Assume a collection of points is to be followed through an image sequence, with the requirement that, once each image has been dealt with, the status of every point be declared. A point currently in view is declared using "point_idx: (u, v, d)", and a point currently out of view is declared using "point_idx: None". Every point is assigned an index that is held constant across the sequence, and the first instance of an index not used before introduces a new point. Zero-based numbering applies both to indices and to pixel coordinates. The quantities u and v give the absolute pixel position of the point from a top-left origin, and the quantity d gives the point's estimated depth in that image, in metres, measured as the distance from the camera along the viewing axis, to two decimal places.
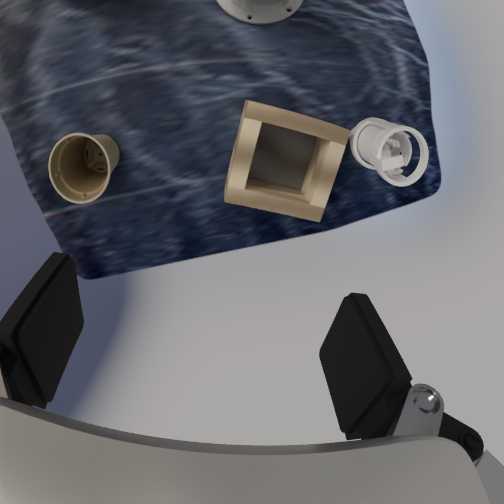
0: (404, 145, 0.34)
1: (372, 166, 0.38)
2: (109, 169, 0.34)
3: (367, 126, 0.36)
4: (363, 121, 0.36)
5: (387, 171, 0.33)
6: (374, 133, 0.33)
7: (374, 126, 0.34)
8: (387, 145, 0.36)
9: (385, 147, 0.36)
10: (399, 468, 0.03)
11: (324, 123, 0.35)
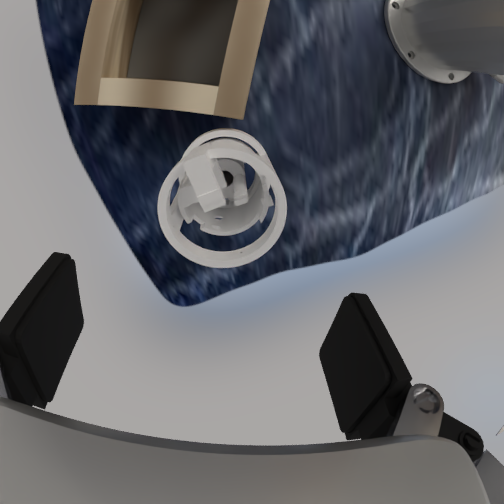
0: (236, 221, 0.22)
1: (183, 174, 0.23)
2: None
3: None
4: (260, 144, 0.22)
5: (181, 190, 0.18)
6: None
7: None
8: (227, 193, 0.23)
9: (223, 190, 0.23)
10: (400, 468, 0.03)
11: (249, 71, 0.19)
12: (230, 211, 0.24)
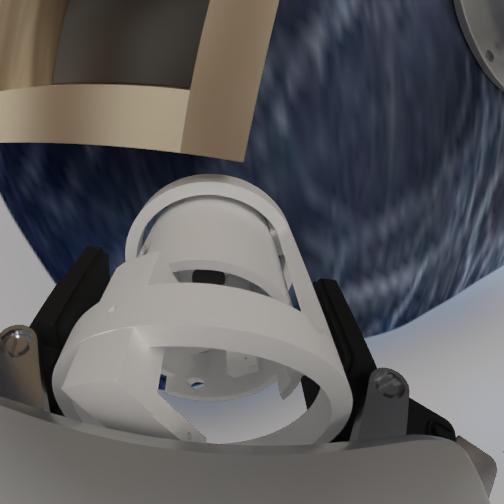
0: None
1: None
2: None
3: (264, 224, 0.12)
4: (277, 207, 0.12)
5: None
6: (259, 260, 0.09)
7: (274, 249, 0.11)
8: None
9: None
10: (400, 468, 0.03)
11: (258, 57, 0.08)
12: None
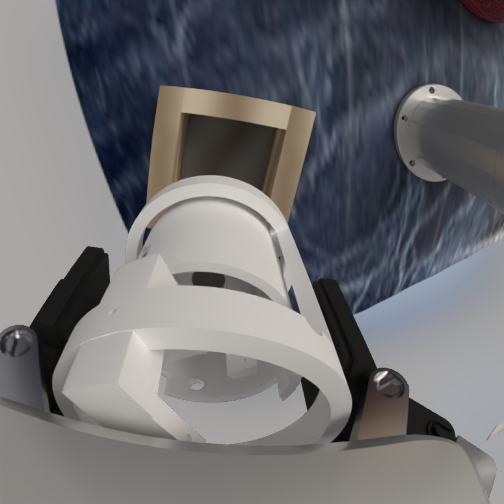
0: None
1: None
2: None
3: (264, 226, 0.12)
4: (276, 209, 0.12)
5: None
6: (258, 262, 0.09)
7: (274, 251, 0.11)
8: None
9: None
10: (400, 468, 0.03)
11: (287, 213, 0.28)
12: None
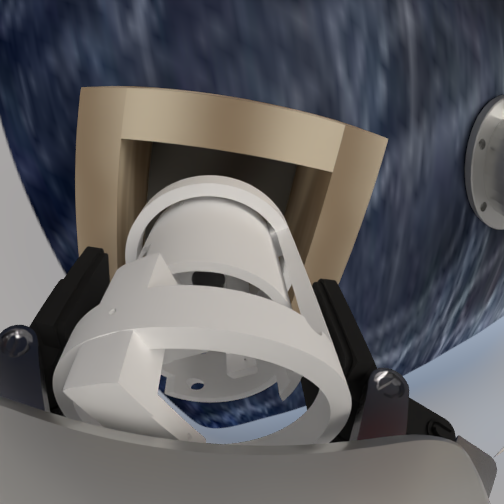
0: None
1: None
2: None
3: (263, 226, 0.12)
4: (276, 209, 0.12)
5: None
6: (258, 262, 0.09)
7: (274, 251, 0.11)
8: None
9: None
10: (400, 468, 0.03)
11: None
12: None
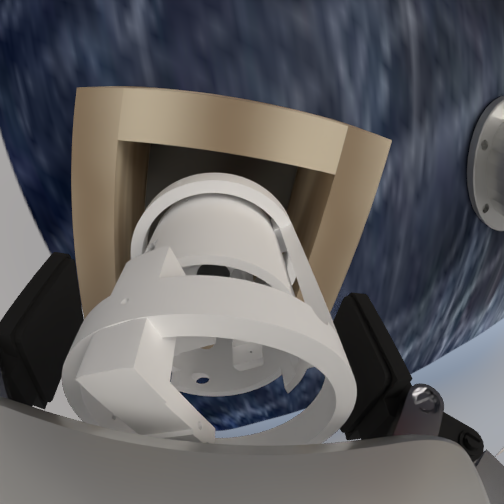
0: None
1: None
2: None
3: (267, 222, 0.12)
4: (280, 205, 0.12)
5: None
6: (264, 256, 0.09)
7: (278, 246, 0.11)
8: None
9: None
10: (400, 467, 0.03)
11: None
12: None
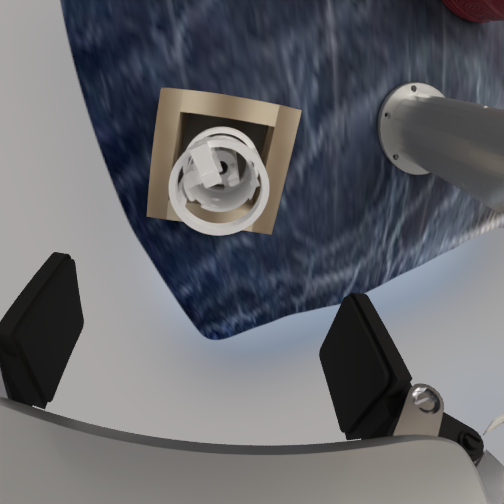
0: (230, 201, 0.26)
1: (186, 165, 0.27)
2: None
3: None
4: (250, 140, 0.27)
5: (186, 174, 0.23)
6: None
7: None
8: (223, 179, 0.27)
9: None
10: (399, 468, 0.03)
11: (277, 202, 0.31)
12: (225, 195, 0.28)
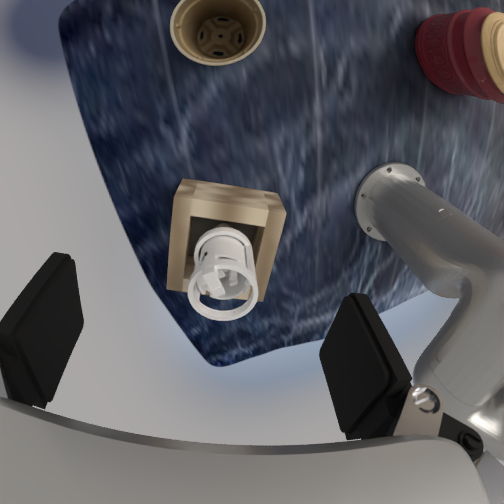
0: (231, 289, 0.36)
1: (197, 257, 0.37)
2: (213, 64, 0.26)
3: (241, 243, 0.36)
4: (245, 238, 0.37)
5: (199, 277, 0.32)
6: (238, 255, 0.33)
7: (244, 252, 0.36)
8: (225, 269, 0.37)
9: None
10: (400, 468, 0.03)
11: (267, 280, 0.40)
12: (227, 279, 0.38)
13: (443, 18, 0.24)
